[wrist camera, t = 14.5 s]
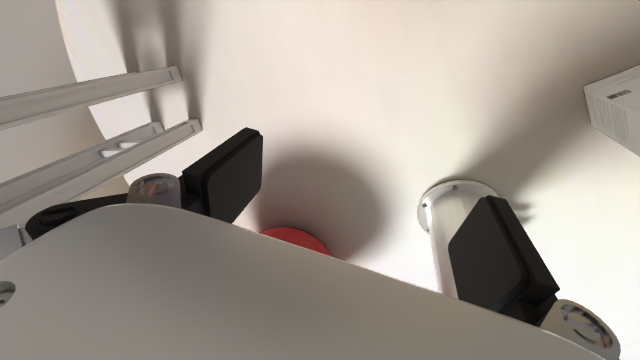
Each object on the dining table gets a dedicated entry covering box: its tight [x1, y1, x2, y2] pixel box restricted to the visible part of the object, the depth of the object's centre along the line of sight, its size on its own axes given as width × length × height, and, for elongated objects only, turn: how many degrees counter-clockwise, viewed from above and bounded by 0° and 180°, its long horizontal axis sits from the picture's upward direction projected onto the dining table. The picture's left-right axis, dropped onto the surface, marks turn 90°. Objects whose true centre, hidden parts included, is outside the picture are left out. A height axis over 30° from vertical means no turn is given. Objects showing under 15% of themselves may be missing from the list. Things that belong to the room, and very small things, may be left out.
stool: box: [0, 66, 202, 229], centre depth 31 cm, size 16×16×35 cm
